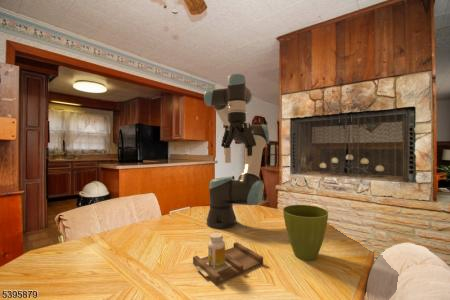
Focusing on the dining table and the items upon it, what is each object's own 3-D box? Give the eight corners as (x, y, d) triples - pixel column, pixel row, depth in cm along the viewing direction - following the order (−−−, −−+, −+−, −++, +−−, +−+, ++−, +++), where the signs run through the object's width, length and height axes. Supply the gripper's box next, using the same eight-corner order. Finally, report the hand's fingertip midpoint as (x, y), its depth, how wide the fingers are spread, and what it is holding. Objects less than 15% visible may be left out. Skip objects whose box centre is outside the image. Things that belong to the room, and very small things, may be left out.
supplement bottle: (227, 262, 70) (227, 232, 70) (222, 271, 65) (221, 239, 65) (212, 259, 72) (211, 230, 72) (205, 268, 67) (205, 237, 67)
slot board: (190, 264, 71) (190, 257, 71) (236, 248, 82) (236, 242, 82) (212, 286, 60) (212, 278, 59) (263, 263, 71) (263, 256, 71)
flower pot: (325, 272, 66) (325, 220, 65) (277, 259, 73) (277, 212, 73) (331, 251, 78) (330, 208, 78) (289, 242, 86) (289, 203, 86)
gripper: (213, 115, 98) (213, 162, 98) (250, 106, 78) (250, 165, 78) (226, 117, 102) (227, 161, 102) (264, 108, 82) (265, 164, 82)
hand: (237, 163), depth 90 cm, fingers open, 13 cm apart
